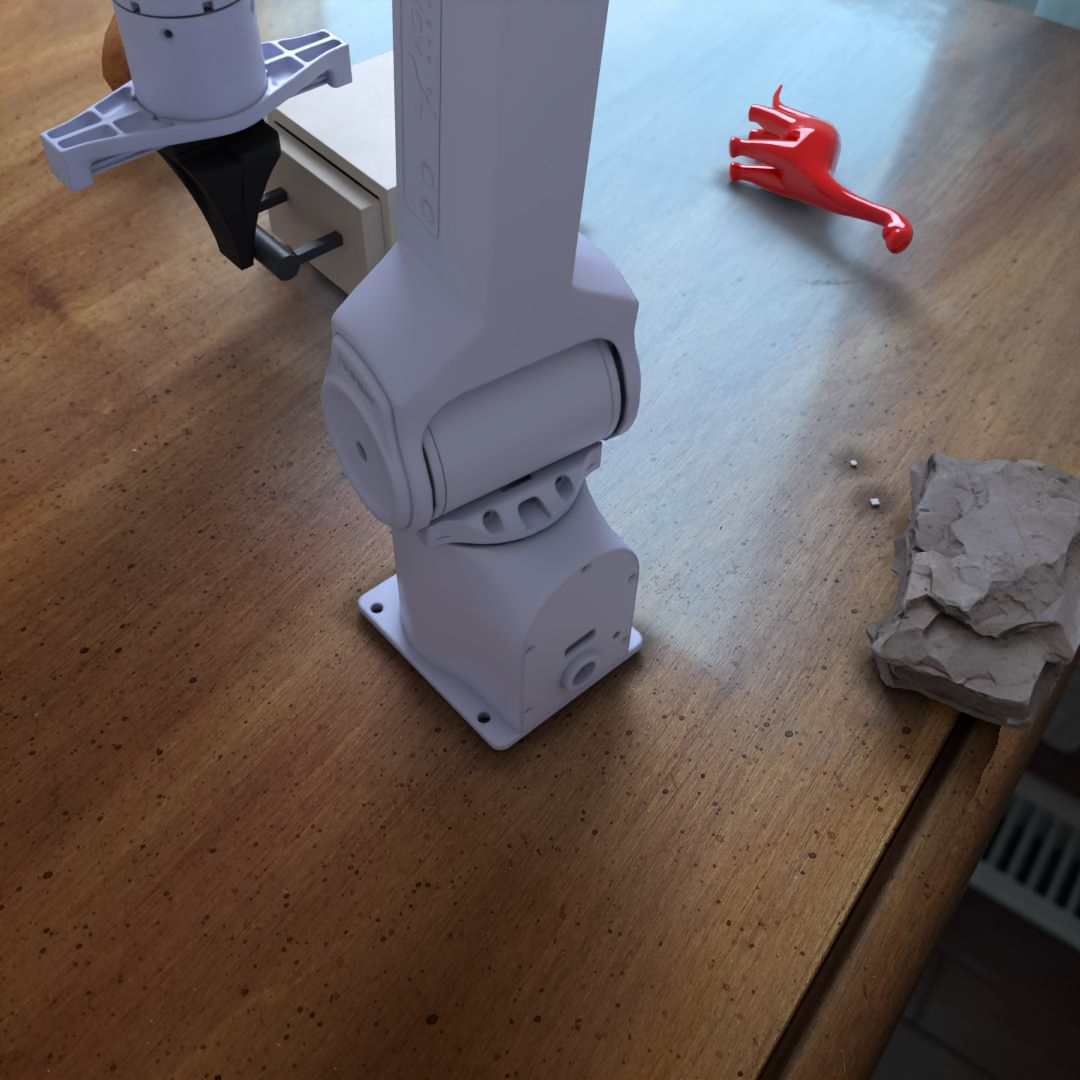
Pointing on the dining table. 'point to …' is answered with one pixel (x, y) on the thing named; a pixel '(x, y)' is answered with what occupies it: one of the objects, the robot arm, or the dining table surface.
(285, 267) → the drawer
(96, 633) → the dining table surface
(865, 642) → the dining table surface
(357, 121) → the cabinet
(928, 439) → the dining table surface
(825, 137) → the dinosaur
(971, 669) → the rock
